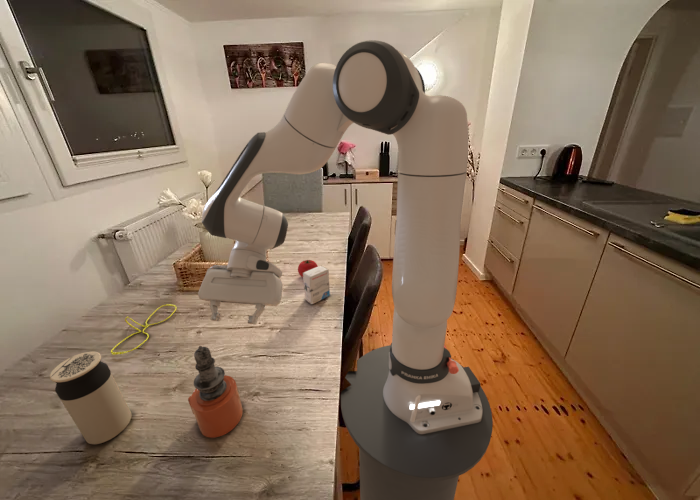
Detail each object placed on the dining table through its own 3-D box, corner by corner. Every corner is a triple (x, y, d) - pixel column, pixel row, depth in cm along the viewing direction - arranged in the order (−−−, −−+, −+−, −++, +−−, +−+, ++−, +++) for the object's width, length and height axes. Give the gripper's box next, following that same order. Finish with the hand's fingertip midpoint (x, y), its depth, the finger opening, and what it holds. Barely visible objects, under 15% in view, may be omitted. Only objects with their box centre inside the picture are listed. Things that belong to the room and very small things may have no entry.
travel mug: (140, 410, 65) (112, 350, 58) (112, 445, 58) (76, 382, 51) (107, 409, 65) (75, 350, 58) (75, 445, 58) (34, 381, 51)
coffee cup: (248, 399, 67) (241, 372, 63) (233, 437, 59) (225, 409, 55) (205, 399, 67) (196, 373, 64) (184, 437, 59) (172, 409, 55)
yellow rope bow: (131, 357, 80) (125, 344, 79) (98, 357, 81) (92, 344, 79) (182, 306, 103) (178, 295, 101) (156, 306, 104) (152, 295, 102)
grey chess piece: (224, 374, 63) (212, 331, 58) (231, 392, 59) (219, 347, 54) (195, 387, 60) (180, 344, 55) (200, 407, 56) (185, 361, 51)
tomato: (317, 281, 118) (316, 264, 115) (296, 281, 118) (294, 264, 115) (320, 271, 126) (318, 255, 123) (300, 271, 126) (298, 255, 123)
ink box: (322, 291, 111) (320, 264, 106) (330, 296, 107) (329, 268, 103) (304, 299, 106) (301, 272, 101) (312, 305, 102) (309, 277, 97)
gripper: (201, 260, 69) (184, 317, 64) (279, 264, 66) (268, 324, 61) (216, 268, 75) (201, 320, 70) (288, 272, 72) (278, 327, 67)
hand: (233, 322), depth 66 cm, fingers open, 8 cm apart
